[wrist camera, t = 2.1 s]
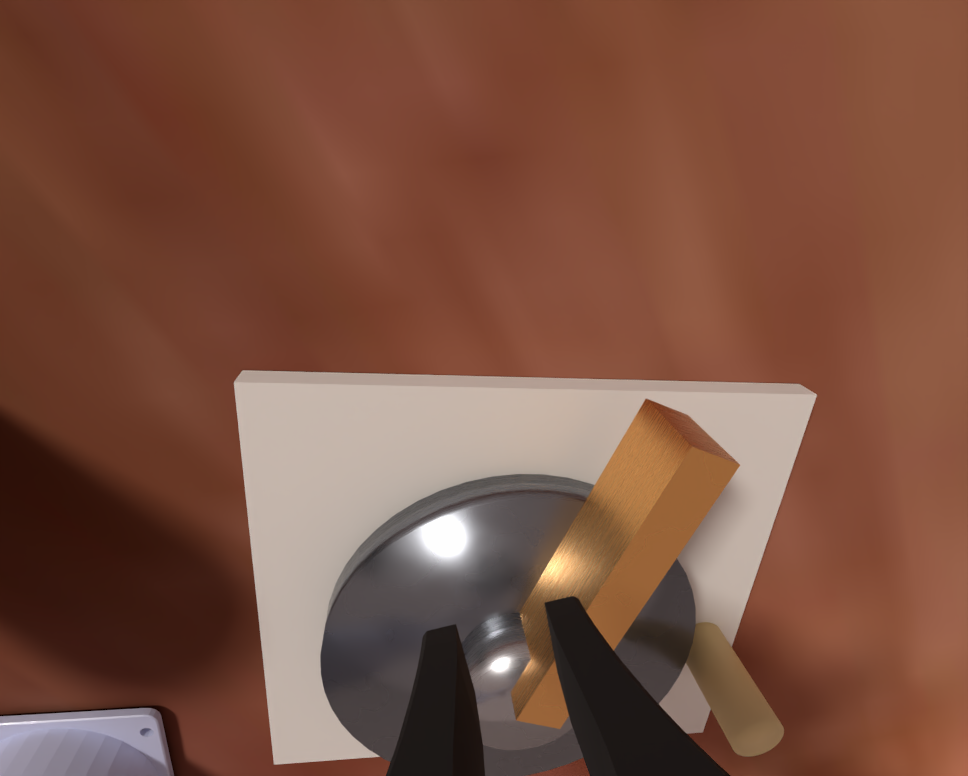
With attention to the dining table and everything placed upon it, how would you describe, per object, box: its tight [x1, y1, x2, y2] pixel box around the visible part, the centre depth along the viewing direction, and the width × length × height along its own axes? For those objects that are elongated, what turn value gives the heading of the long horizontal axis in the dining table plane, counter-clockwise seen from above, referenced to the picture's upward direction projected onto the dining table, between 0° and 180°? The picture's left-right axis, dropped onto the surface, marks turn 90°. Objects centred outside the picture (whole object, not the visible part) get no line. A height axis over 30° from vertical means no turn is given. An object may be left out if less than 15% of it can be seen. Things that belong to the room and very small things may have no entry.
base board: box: [234, 370, 817, 765], centre depth 21 cm, size 18×20×6 cm
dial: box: [320, 399, 740, 776], centre depth 19 cm, size 18×14×4 cm
